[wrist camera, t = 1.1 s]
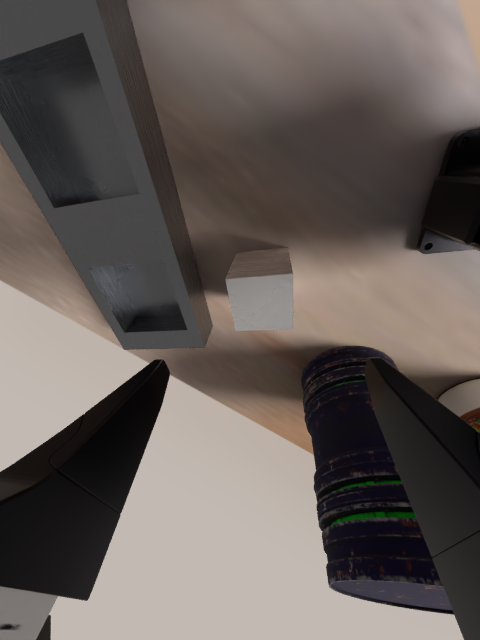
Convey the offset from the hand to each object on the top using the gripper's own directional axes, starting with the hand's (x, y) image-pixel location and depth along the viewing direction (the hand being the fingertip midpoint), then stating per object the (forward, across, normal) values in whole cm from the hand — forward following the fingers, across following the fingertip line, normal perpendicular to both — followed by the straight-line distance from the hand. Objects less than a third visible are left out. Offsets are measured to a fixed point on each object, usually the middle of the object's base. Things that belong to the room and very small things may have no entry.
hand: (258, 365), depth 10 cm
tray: (+10, +10, -5) cm, 15 cm away
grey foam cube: (+10, 0, 0) cm, 10 cm away
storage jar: (+10, -8, +13) cm, 18 cm away
